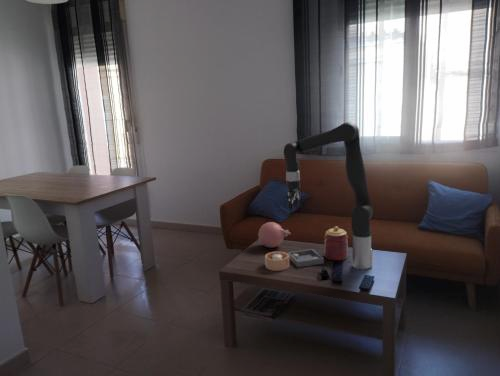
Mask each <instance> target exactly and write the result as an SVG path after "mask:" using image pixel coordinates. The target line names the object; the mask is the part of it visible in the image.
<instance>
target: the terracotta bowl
mask: <svg viewBox="0 0 500 376" xmlns="http://www.w3.org/2000/svg"><path fill="white" fill-rule="evenodd" d="M274 254H280V255H282V259H280V260H273V257H272V256H273V255H274ZM264 266H265V268H266V269H267V270H269V271H274V272H275V271H276V272H277V271H278V272H279V271H284V270H285V271H286V270H287V269H289V268H290V259H289V255H288V252H284V251H272V252H271V251H270V252H268V253H266V254H265V255H264Z"/></svg>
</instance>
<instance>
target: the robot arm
mask: <svg viewBox="0 0 500 376" xmlns="http://www.w3.org/2000/svg"><path fill="white" fill-rule="evenodd" d="M359 131H360V130H359V127H358V125H357V124H356V123H355V122H352V121H347V122H343V123H342V124H340V125H338V126H336V127H334V128H332V129H331V130H328V131H325V132H322V133H318V134H314V135H311V136H307V137H305V138H301V139H299V140H296V141H293V142H289V143H287V144H285V146H283V156H284V160H285V167H286V168H285V169H286V173H285V180H286V182H285V183H286V189H288V191H286V203H287V204H288V211H293V210H294V206H295V207H299V206H300V198H301V197H302V195H301V194H302V193H301V174H300V173H301V172H300V161H298V159H297V155H300V154H303V153H304V152H309V151H313V150H317V149H319V148H322V147H324V146H328V145H329V144H334V143H339V142H340V143H341V142H344V143H343V144H344V147H345V163H344V164H345V173H346V180H347V182H348V185H349V187H350V188H351V190H352V193H353V195H354V202H355V207H353V209H352V210H351V213H350V215H351V216H350V223H351V225H350V226H351V231H352V262H351V265H352V267H353V268H354V269H358V270H368V269H370V268H372V267H373V249H372V229H371V228H370V219H371V218H372V217H373V214H374V211H373V210H374V208H373V205H372V201H371V199H370V195H369V190H368V182H367V177H366V176H367V175H366V169H365V164H364V160H363V154H362V151H361V144H360V143H361V142H360V132H359Z"/></svg>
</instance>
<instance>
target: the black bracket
mask: <svg viewBox="0 0 500 376" xmlns="http://www.w3.org/2000/svg"><path fill="white" fill-rule="evenodd" d="M319 269H320V270H319V272H316V275H317V276H318V279H319V281H320V282H323V281H324V282H325V281H332V279H330V278H331V277H330V274H329V272H328V269H327V267H325V266H324V267H320V268H319Z"/></svg>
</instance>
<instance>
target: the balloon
mask: <svg viewBox="0 0 500 376" xmlns="http://www.w3.org/2000/svg"><path fill="white" fill-rule="evenodd" d="M258 230H259V231H258V235H257V236H258V240H259V241H260V243H261V244H262V246H264V247H266V248H271V249H272V248H276V247H278V246H280V245H281V244H282V242H283V241H284V238H285V237H288V236H289V235H291V234H292V233H291V232H290V231H289V229H284V228H282V226H281V225H280V224H279V223H276V222H274V221H269V222H266V223H264V224H262V226H261V227H259V229H258Z"/></svg>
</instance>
